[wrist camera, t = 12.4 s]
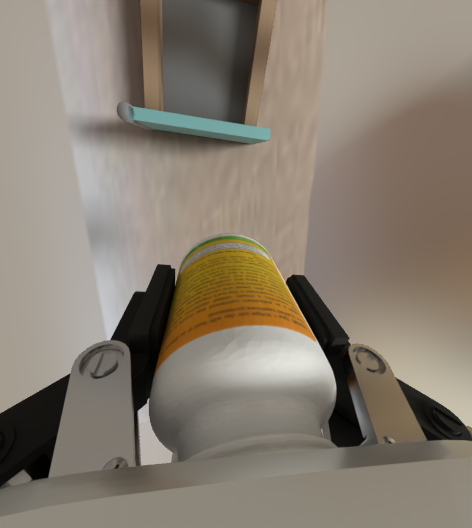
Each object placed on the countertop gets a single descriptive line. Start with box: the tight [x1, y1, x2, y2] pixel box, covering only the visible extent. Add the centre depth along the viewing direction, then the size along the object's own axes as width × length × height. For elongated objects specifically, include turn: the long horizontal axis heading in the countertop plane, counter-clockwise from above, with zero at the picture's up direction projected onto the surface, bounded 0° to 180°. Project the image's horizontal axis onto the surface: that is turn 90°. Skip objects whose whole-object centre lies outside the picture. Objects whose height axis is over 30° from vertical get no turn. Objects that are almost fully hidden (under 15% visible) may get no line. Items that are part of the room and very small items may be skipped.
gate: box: [117, 102, 271, 144], centre depth 19 cm, size 1×12×7 cm, turn 83°
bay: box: [140, 0, 277, 127], centre depth 18 cm, size 10×10×2 cm
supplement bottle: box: [149, 233, 338, 462], centre depth 8 cm, size 5×5×10 cm
